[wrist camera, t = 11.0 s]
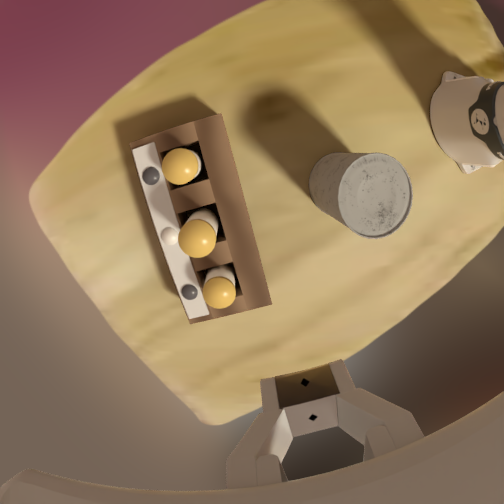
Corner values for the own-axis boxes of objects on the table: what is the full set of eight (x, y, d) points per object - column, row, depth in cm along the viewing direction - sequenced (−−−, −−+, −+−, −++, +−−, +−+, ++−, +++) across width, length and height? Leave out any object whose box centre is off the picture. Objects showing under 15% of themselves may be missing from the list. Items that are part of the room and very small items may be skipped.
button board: (222, 118, 37) (221, 113, 33) (268, 289, 46) (272, 304, 41) (140, 144, 38) (129, 143, 33) (193, 307, 46) (190, 324, 41)
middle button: (214, 204, 38) (209, 216, 31) (222, 233, 39) (220, 252, 32) (184, 212, 38) (173, 226, 31) (193, 241, 39) (184, 261, 32)
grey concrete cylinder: (302, 210, 42) (329, 232, 31) (314, 145, 39) (346, 142, 28) (361, 221, 43) (402, 244, 32) (373, 160, 40) (419, 165, 29)
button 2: (230, 254, 43) (230, 275, 36) (238, 279, 44) (239, 304, 37) (203, 261, 43) (198, 283, 36) (211, 286, 45) (208, 311, 37)
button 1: (199, 146, 38) (192, 143, 31) (207, 174, 39) (201, 178, 32) (171, 154, 38) (157, 154, 31) (179, 182, 39) (167, 189, 32)
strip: (154, 141, 33) (153, 141, 33) (209, 313, 41) (209, 315, 40) (132, 149, 33) (131, 149, 33) (189, 318, 41) (189, 319, 40)
